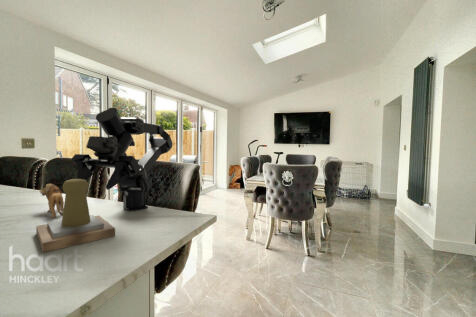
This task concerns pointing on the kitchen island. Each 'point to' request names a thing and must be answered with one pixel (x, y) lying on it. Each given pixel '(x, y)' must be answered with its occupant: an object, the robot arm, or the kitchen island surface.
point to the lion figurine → (53, 198)
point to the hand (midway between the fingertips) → (91, 187)
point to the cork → (75, 203)
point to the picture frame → (72, 233)
